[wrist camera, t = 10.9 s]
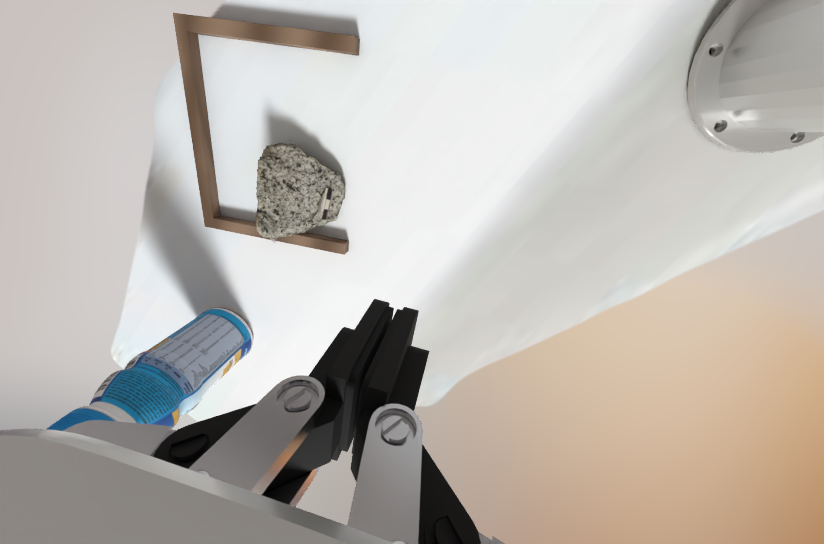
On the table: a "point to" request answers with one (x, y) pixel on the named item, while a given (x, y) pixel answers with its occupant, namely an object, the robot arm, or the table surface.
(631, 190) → the table surface
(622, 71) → the table surface
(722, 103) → the robot arm
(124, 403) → the beverage bottle
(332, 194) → the rock sample
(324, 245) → the frame
